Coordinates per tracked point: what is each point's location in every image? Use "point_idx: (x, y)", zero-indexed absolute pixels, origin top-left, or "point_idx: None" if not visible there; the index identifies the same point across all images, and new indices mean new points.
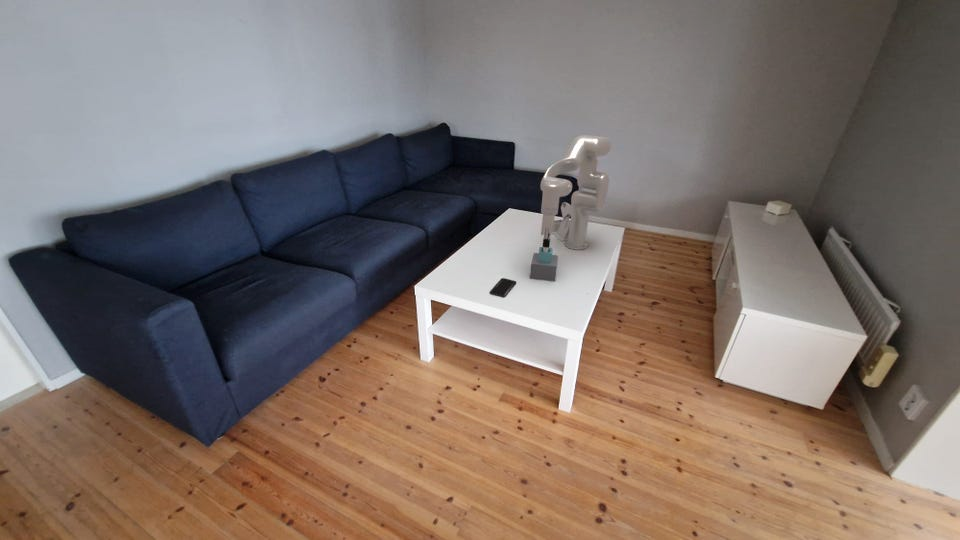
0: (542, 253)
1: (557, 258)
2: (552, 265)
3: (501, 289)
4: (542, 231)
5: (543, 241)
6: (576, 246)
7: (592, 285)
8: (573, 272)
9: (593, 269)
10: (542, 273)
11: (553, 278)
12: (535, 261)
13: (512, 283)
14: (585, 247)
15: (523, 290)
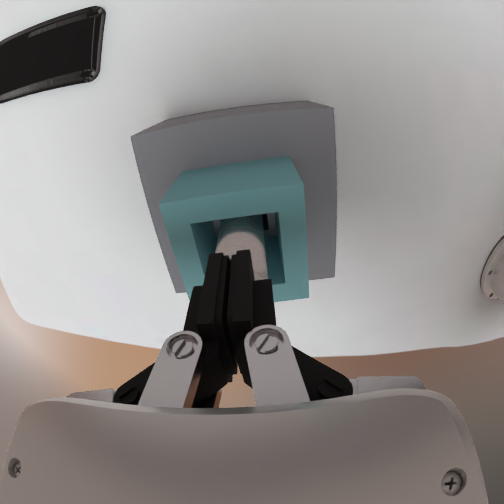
0: (172, 235)
1: None
2: (175, 271)
3: (22, 63)
4: (11, 464)
5: (202, 302)
6: (494, 274)
7: None
8: None
9: (346, 341)
10: None
11: None
12: (178, 155)
13: (73, 71)
14: (486, 296)
15: (56, 138)
